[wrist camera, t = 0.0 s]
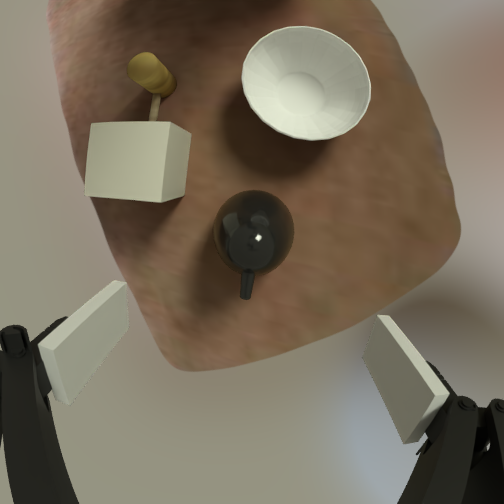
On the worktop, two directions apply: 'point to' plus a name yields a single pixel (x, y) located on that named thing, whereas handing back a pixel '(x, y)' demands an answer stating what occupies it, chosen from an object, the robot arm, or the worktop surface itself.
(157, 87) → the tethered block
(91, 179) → the cream u-shaped stand
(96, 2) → the worktop surface
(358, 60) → the bowl
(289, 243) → the pump dispenser
